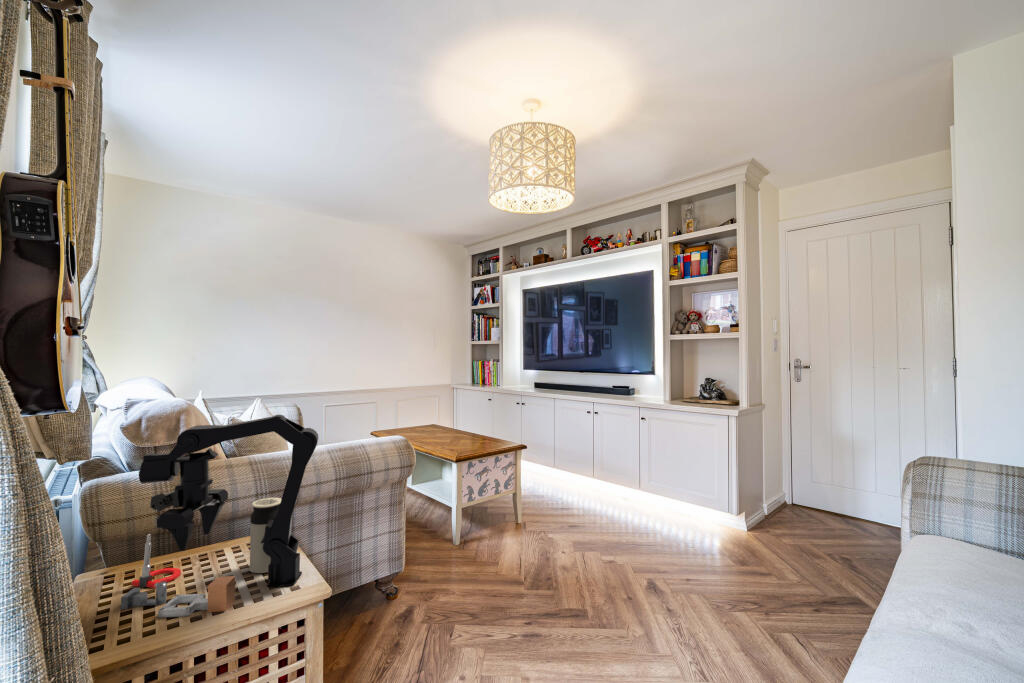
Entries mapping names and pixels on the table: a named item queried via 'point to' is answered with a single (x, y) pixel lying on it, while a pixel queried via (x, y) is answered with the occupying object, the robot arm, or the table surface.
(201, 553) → the table surface
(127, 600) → the hook
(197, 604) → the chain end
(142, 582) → the tow hook
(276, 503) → the travel mug
